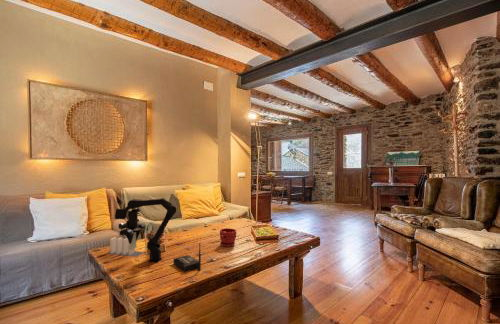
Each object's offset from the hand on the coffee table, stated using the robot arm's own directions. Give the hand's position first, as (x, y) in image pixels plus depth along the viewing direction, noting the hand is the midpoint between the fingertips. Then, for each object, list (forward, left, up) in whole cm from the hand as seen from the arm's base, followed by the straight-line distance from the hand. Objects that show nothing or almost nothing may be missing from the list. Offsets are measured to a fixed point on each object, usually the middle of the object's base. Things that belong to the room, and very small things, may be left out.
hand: (132, 242), depth 165 cm
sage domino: (0, 0, -4) cm, 4 cm away
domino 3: (+10, -12, -12) cm, 20 cm away
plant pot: (-51, -47, -13) cm, 70 cm away
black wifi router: (-39, -1, -14) cm, 41 cm away
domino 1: (+20, -12, -12) cm, 27 cm away
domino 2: (+15, -12, -12) cm, 23 cm away
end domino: (+25, -12, -12) cm, 31 cm away
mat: (+15, -12, -13) cm, 23 cm away
